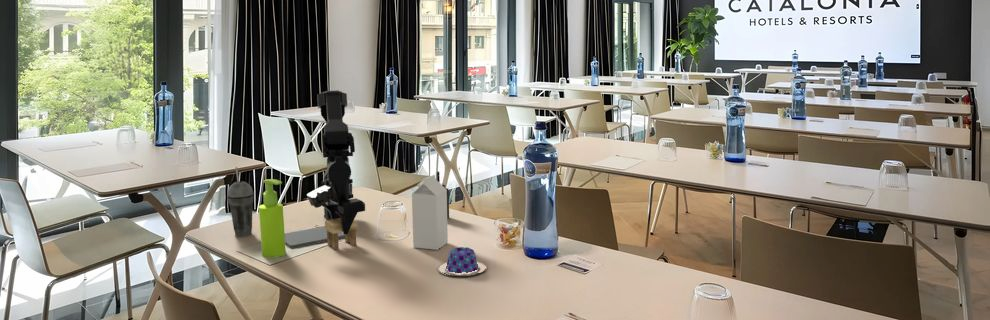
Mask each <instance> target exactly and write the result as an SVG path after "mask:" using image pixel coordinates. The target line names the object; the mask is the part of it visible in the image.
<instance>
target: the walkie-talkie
mask: <svg viewBox="0 0 990 320" xmlns="http://www.w3.org/2000/svg"><path fill="white" fill-rule="evenodd" d="M440 178H441V177H440V171H436V180H437V181H438V182H439V183H440V184H441V180H440ZM441 185H442V186H443V187H444V188H445V189H446V190H447V219H449V218H450V193H449V191H450V188H447V187H446V185H445V184H441Z"/></svg>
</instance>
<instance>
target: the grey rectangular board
mask: <svg viewBox="0 0 990 320" xmlns="http://www.w3.org/2000/svg"><path fill="white" fill-rule="evenodd" d="M284 233H285V246H286V247H288V248H289V249H294V248H295V249H296V248H301V247H305V246H310V245H315V244H314V243H316V244H320V243H319V242H321V243H324V242H323V241H326V242H327V230H325V225H324V226H319V227H318V226H317V227H312V228H307V229H302V230H297V231H290V232H284ZM338 238H341V239H345V234H343V232H340V233H338Z"/></svg>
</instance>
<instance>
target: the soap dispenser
mask: <svg viewBox="0 0 990 320" xmlns="http://www.w3.org/2000/svg"><path fill="white" fill-rule="evenodd" d="M262 183H264V184H265V189H266V191H265V190H264V192H263V193H262V195H263V197H262V198H263V204H261V205H259V206H258V211H259V212H258V214H259V215H258V216H259V226H260V227H259V228H260V240H261V241H260V242H261V254H262V257H264V258H270V259H271V258H273V259H274V258H280V257H283V256H285V255H286V254H287V253H286V252H287V249H286V245H285V233H286V232H285V222H284V221H285V218H284V207H283V204H282V203H279V202H278V192H277V191H275V190H274V185H275V186H279V185H282V184H283V181H281V180H279V179H275V178H274V179H273V178H270V179H269V178H268V179H264V180H262Z"/></svg>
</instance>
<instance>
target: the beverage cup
mask: <svg viewBox="0 0 990 320" xmlns="http://www.w3.org/2000/svg"><path fill="white" fill-rule="evenodd" d="M238 170H239V169H238V166H235V174H236V181H235V182H233V183H232V184H231V185H230V186H229V187H228V189H227V195H226V198H227V202H228V205H229V207H230V208H229V209H230V214H231V219H232V220H231V221H232V227H233V231H234V236H235V237H237V238H238V237H239V238H245V237H249V236H251V235H252V231H253V204H254V203H253V202H254V195H255V194H254V191H253V188H252V186H251V184H249V183H248V182H246V181H243V180H241V181H240V177H239V171H238Z"/></svg>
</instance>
